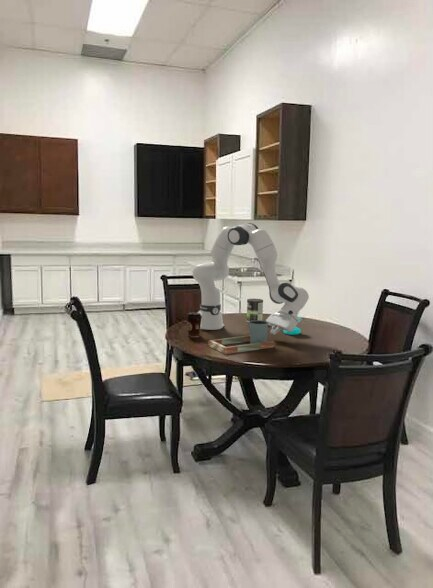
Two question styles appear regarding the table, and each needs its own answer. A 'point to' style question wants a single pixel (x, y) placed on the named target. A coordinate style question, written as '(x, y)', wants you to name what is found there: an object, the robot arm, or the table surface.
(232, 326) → the table surface
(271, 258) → the robot arm
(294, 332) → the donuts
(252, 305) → the coffee can
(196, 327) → the coffee cup
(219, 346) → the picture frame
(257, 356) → the table surface
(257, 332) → the grey-blue cylinder
